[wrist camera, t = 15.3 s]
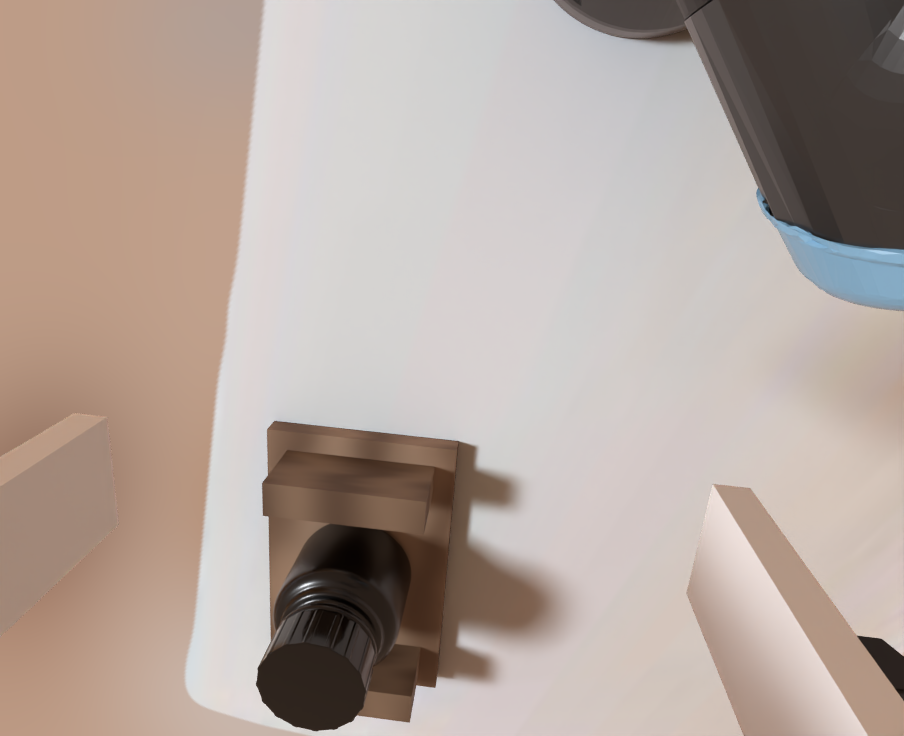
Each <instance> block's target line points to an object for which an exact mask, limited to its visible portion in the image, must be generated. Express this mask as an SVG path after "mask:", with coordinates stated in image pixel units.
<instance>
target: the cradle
mask: <svg viewBox="0 0 904 736" xmlns="http://www.w3.org/2000/svg"><path fill="white" fill-rule="evenodd" d="M267 448H268V476H267V478H266V479H265V480H264V481H263V483H262V493H263V516H269V561H270V617H271V640H272V638H273V636H274V634H275V632H276V631H275V628H274V624H273V608H274V604H275V600H276V597H277V595H278V593H279V591H280V589H281V587H282V585H283V583H284V581H285V579H286V577H287V575H288V573H289V571H290V570H291V568H292V566H293V564H294V562H295V560H296V558H297V557H298V555H299V553H300V551H301V549H302V547H303V545H304V544H305V542H306V541H307V540H308V539H309V537H310V536H311V535H312V534H313V533H315V532H316V531H317V530H319V529H320V528H322V527H324V526H325V525H328V524H338V525H346V526H354V527H363V528H371V529H380V530H383V531H385V532H387V533H388V534H389V535H391V536H392V537H393V538H394V539H395V540H396V541H397V542H398V543H399V544H400V545H401V547H402V548H403V549H404V551H405V553H406V554H407V557H408V559H409V562H410V565H411V583H410V587H409V592H408V596H407V600H406V605H405V609H404V613H403V618H402V622H401V626H400V630H399V634H398V637H397V640H396V642H395V645H394V647H393V648H392V650H391V651H390V653H389V654H388V655H387V656H386V658H385V659H384V660H382V661H381V662H380V663H379V664H377V665H376V666H374V667H373V674H372V677H371V681H370V685H369V689H368V692H367V696H366V700H365V704H364V707H363V709H362V710H361V711H360V712H359V713H358V714H357V715H358V716H366V717H373V718H380V719H388V720H395V721H402V722H410V718H411V712H412V706H413V701H414V695H415V689H416V685H418V686H426V687H434V688H435V687H436V680H437V672H438V661H439V650H440V639H441V628H442V617H443V606H444V595H445V584H446V573H447V562H448V551H449V540H450V529H451V518H452V507H453V496H454V485H455V474H456V463H457V452H458V441H451V440H441V439H432V438H423V437H414V436H405V435H396V434H387V433H378V432H369V431H359V430H350V429H341V428H332V427H323V426H314V425H305V424H296V423H287V422H277V421H274V422H273V423H272V424H271V426H270V427H269V428H268V429H267Z"/></svg>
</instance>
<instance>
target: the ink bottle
mask: <svg viewBox="0 0 904 736" xmlns="http://www.w3.org/2000/svg"><path fill="white" fill-rule="evenodd" d="M410 583H411V565H410V562H409V559H408V557H407V554H406V553H405V551H404V549H403V548H402V547H401V545H400V544H399V543H398V542H397V541H396V540H395V539H394V538H393V537H392V536H391V535H389V534H388V533H387V532H385V531H383V530H380V529H371V528H363V527H354V526H346V525H338V524H328V525H325V526H324V527H322V528H320V529H319V530H317V531H316V532H315V533H313V534H312V535H311V536H310V537H309V539H308V540H307V541H306V542H305V544H304V545H303V547H302V549H301V551H300V553H299V555H298V557H297V558H296V560H295V562H294V564H293V566H292V568H291V570H290V571H289V573H288V575H287V577H286V579H285V581H284V583H283V585H282V587H281V589H280V591H279V593H278V595H277V597H276V600H275V604H274V608H273V624H274V628H275V631H276V632H275V634H274V636H273V638H272V640H271V642H270V644H269V646H268V648H267V650H266V652H265V654H264V656H263V659H262V661H261V663H260V665H259V667H258V676H257V682H256V686H257V687H258V690H259V692H260V695H261V698H262V701H263V703H264V704H266V705H267V706H268V708H269V709H270V710H271V711H272V712H273V713H274V715H275V716H276V717H278V718H281V719H283V720H284V721H286V722H288V723H290V724H292V726H294V727H300V728H305V729H309V730H312V731H319V730H329V729H333V730H334V729H338V727H341V726H343V725H345V724H347V723H349V722H352V721H353V720H354V718H355V717H356V716H357V714H358V713H359V712H360V711H361V710H362V709H363V707H364V704H365V700H366V696H367V692H368V689H369V685H370V681H371V677H372V674H373V667H374V666H376V665H377V664H379V663H380V662H381V661H382V660H384V659H385V658H386V656H387V655H388V654H389V653H390V651H391V650H392V648H393V647H394V645H395V642H396V640H397V637H398V634H399V630H400V626H401V622H402V618H403V613H404V609H405V605H406V600H407V596H408V592H409V587H410Z"/></svg>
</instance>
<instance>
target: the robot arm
mask: <svg viewBox="0 0 904 736" xmlns="http://www.w3.org/2000/svg"><path fill="white" fill-rule="evenodd" d="M554 1H555V2H556V3H557V4H558V5H559V6H560V7H561V8H562V9H563V10H564V11H566V12H567V13H568V14H569V15H571V16H572V17H573V18H575V19H576V20H578V21H579V22H581V23H583V24H584V25H586V26H588V27H590V28H593V29H595V30H597V31H600V32H603V33H606V34H610V35H614V36H619V37H626V38H653V37H660V36H665V35H670V34H673V33H676V32H680V31H682V30H685V29H688V31H689V33H690V36H691V38H692V40H693V42H694V45H695V47H696V49H697V51H698V54H699V56H700V58H701V60H702V63H703V65H704V67H705V69H706V72H707V74H708V76H709V78H710V81H711V83H712V85H713V87H714V89H715V92H716V94H717V96H718V98H719V101H720V103H721V105H722V107H723V110H724V112H725V114H726V116H727V119H728V121H729V123H730V125H731V128H732V130H733V132H734V134H735V136H736V139H737V141H738V143H739V145H740V148H741V150H742V152H743V154H744V157H745V159H746V161H747V163H748V166H749V168H750V170H751V172H752V175H753V177H754V179H755V181H756V184H757V186H758V190H757V192H756V194H757V199H758V202H759V205H760V208H761V210H762V212H763V214H764V215H765V216H766V217H767V219H769V220H770V221H771V223H772V224H773V225H774V226H775V227H776V228H777V229H778V231H779V233H780V235H781V237H782V239H783V241H784V243H785V245H786V247H787V249H788V251H789V253H790V255H791V257H792V259H793V261H794V263H795V265H796V266H797V268H798V269H799V271H800V272H801V273H802V274H803V275H804V276H805V277H806V278H808V279H809V280H811V281H812V282H813V283H814V284H815V285H816V286H817V287H818V288H820V289H822V290H824V291H825V292H826V293H828V294H830V295H832V296H834V297H836V298H839V299H842V300H845V301H847V302H851V303H854V304H858V305H862V306H867V307H872V308H879V309H886V310H895V311H904V0H554ZM118 525H119V520H118V510H117V501H116V492H115V482H114V473H113V464H112V455H111V445H110V436H109V426H108V417H104V416H94V415H86V414H77V413H74V414H72V415H70V416H69V417H67V418H65V419H63V420H62V421H60V422H58V423H57V424H55V425H53V426H52V427H50V428H48V429H47V430H45V431H43V432H41V433H40V434H38V435H36V436H35V437H33V438H31V439H30V440H28V441H26V442H25V443H23V444H21V445H20V446H18V447H16V448H15V449H13V450H11V451H10V452H8V453H6V454H4V455H3V456H1V457H0V637H1V636H2V635H3V634H4V633H5V632H6V631H7V630H8V629H9V628H10V627H11V626H12V625H13V624H14V623H16V622H17V621H18V620H19V619H20V618H21V617H22V616H23V615H24V614H25V613H26V612H27V611H28V610H29V609H30V608H31V607H33V606H34V605H35V604H36V603H37V602H38V601H39V600H40V599H41V598H42V597H43V596H44V595H45V594H46V593H47V592H48V591H49V590H50V589H51V588H53V586H55V585H56V584H57V583H58V582H59V581H60V580H61V579H62V578H63V577H64V576H65V575H66V574H67V573H68V572H70V570H72V569H73V568H74V567H75V566H76V565H77V564H78V563H79V562H80V561H81V560H82V559H83V558H84V557H85V556H86V555H87V554H89V553H90V552H91V551H92V550H93V549H94V548H95V547H96V546H97V545H98V544H99V543H100V542H101V541H102V540H103V539H104V538H105V537H107V535H109V534H110V533H111V532H112V531H113V530H114V529H115V528H116V527H117V526H118ZM687 596H688V598H689V601H690V603H691V606H692V608H693V611H694V613H695V616H696V618H697V621H698V623H699V626H700V628H701V631H702V633H703V636H704V638H705V641H706V643H707V645H708V648H709V650H710V653H711V655H712V658H713V660H714V663H715V665H716V668H717V670H718V673H719V675H720V678H721V680H722V683H723V685H724V688H725V690H726V693H727V695H728V698H729V700H730V703H731V705H732V708H733V710H734V712H735V715H736V717H737V720H738V722H739V725H740V727H741V730H742V732H743V735H744V736H904V656H902V655H901V654H900V653H899V652H897V651H896V650H895V649H894V648H892V647H891V646H890V645H889V644H887V643H886V642H885V641H884V640H882V639H879V638H871V637H863V636H856V634H855V633H854V631H853V630H852V629H851V627H850V626H849V624H848V623H847V622H846V620H845V619H844V618H843V616H842V615H841V613H840V612H839V611H838V609H837V608H836V606H835V605H834V604H833V602H832V601H831V599H830V598H829V597H828V595H827V594H826V593H825V591H824V590H823V588H822V587H821V586H820V584H819V583H818V581H817V580H816V579H815V577H814V576H813V575H812V573H811V572H810V570H809V569H808V568H807V566H806V565H805V563H804V562H803V561H802V559H801V558H800V557H799V555H798V554H797V552H796V551H795V550H794V548H793V547H792V545H791V544H790V543H789V541H788V540H787V538H786V537H785V536H784V534H783V533H782V532H781V530H780V529H779V527H778V526H777V525H776V523H775V522H774V520H773V519H772V518H771V516H770V515H769V514H768V512H767V511H766V509H765V508H764V507H763V505H762V504H761V502H760V501H759V500H758V498H757V497H756V495H755V494H754V493H753V491H752V490H751V489H750V488H743V487H734V486H725V485H716V484H713V486H712V490H711V494H710V498H709V502H708V506H707V510H706V515H705V519H704V523H703V527H702V531H701V535H700V539H699V544H698V548H697V552H696V556H695V560H694V564H693V568H692V573H691V577H690V581H689V585H688V589H687Z"/></svg>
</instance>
